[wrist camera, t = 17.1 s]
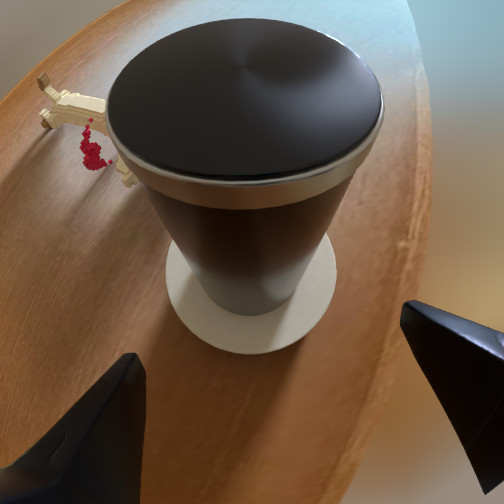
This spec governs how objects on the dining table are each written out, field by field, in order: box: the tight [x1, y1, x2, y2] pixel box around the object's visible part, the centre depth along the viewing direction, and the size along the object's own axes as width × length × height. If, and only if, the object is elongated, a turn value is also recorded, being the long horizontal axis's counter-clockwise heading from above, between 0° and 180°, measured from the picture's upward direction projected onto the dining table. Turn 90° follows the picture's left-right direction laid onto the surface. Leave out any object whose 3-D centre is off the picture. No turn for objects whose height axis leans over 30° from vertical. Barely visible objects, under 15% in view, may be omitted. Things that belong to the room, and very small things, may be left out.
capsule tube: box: [105, 18, 385, 316], centre depth 11 cm, size 6×6×13 cm
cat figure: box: [37, 73, 139, 188], centre depth 24 cm, size 10×9×25 cm
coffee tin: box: [165, 233, 336, 354], centre depth 20 cm, size 10×10×4 cm
